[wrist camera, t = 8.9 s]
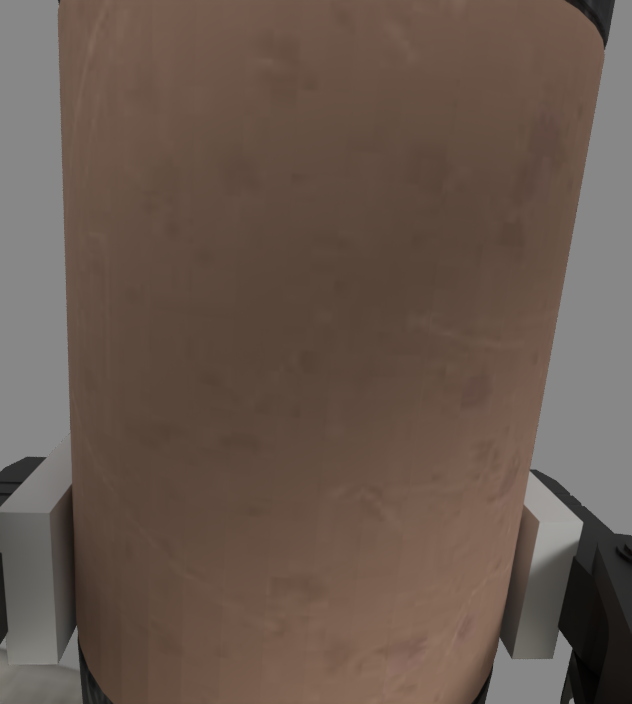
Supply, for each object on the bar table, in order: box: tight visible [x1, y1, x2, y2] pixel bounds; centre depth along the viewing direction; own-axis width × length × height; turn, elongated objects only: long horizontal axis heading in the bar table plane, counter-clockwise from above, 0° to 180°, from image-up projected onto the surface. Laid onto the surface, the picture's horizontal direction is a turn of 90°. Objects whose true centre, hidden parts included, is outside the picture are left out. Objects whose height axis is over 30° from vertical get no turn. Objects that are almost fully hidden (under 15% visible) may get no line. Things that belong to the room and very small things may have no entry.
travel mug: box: [58, 0, 615, 704], centre depth 10 cm, size 8×8×20 cm
